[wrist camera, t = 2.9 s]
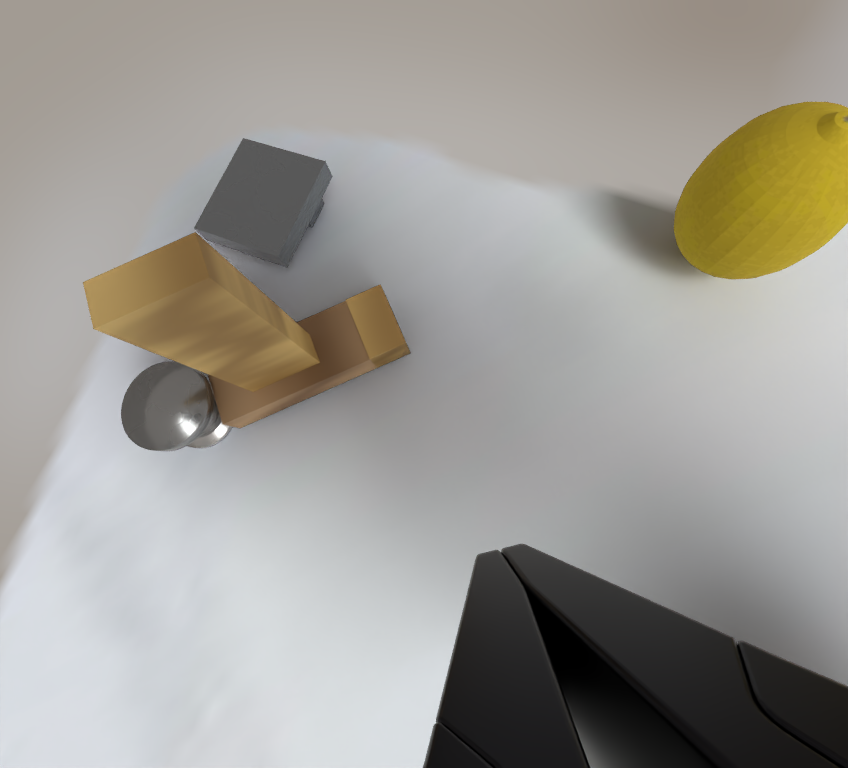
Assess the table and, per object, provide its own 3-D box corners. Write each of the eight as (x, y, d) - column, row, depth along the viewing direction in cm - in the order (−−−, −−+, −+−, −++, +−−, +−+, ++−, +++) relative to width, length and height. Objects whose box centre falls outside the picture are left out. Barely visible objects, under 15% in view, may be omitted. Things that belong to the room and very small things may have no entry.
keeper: (308, 292, 22) (278, 256, 19) (236, 267, 23) (194, 228, 20) (347, 210, 23) (325, 161, 20) (277, 189, 24) (243, 138, 20)
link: (241, 428, 21) (37, 384, 11) (223, 371, 21) (19, 282, 12) (410, 353, 20) (358, 242, 11) (387, 299, 21) (318, 149, 12)
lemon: (630, 283, 20) (727, 164, 13) (666, 191, 21) (779, 28, 14) (746, 324, 19) (931, 222, 12) (781, 225, 20) (972, 70, 13)
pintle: (243, 448, 21) (206, 443, 18) (168, 459, 21) (119, 456, 18) (240, 371, 22) (204, 355, 19) (168, 383, 22) (122, 369, 19)
